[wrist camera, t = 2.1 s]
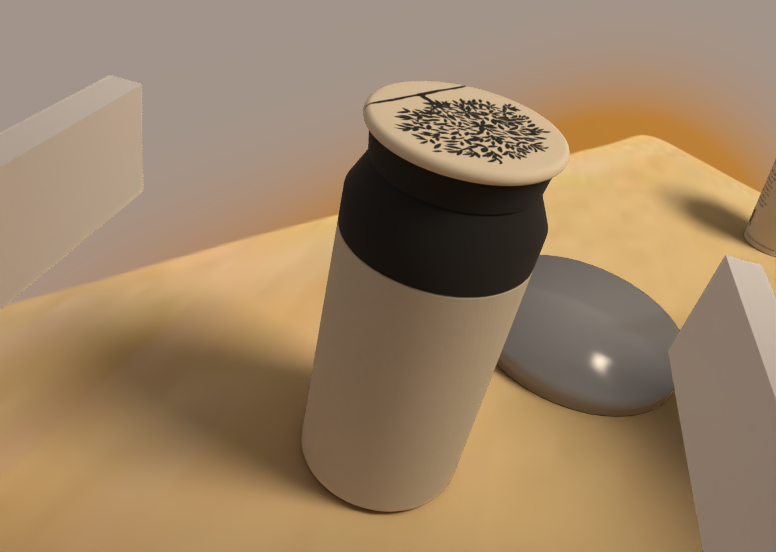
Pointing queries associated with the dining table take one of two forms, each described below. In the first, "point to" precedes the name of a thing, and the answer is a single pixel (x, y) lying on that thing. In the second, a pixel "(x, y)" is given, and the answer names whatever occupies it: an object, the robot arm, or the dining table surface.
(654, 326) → the charcoal plate
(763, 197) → the coffee cup
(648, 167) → the dining table surface
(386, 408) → the travel mug
